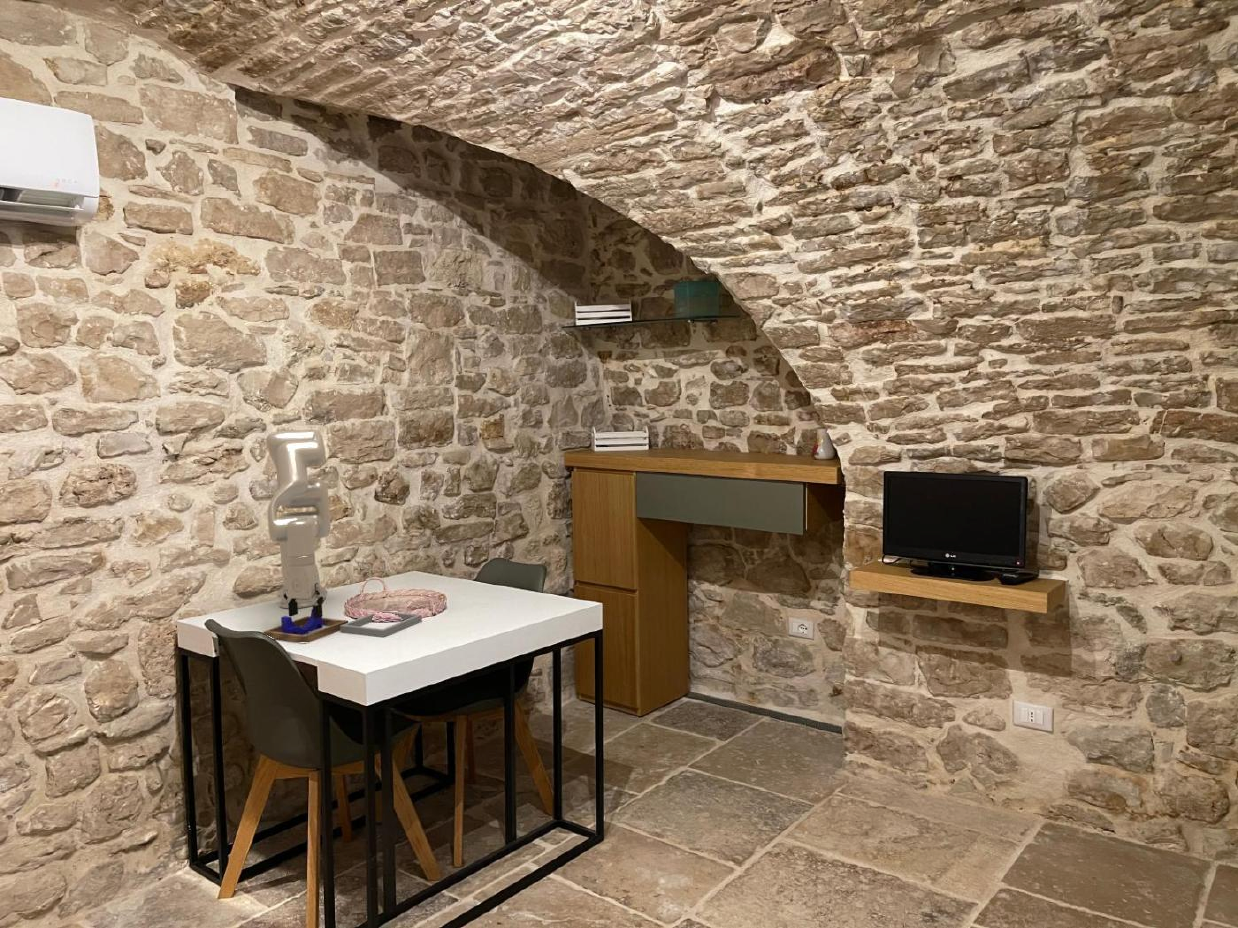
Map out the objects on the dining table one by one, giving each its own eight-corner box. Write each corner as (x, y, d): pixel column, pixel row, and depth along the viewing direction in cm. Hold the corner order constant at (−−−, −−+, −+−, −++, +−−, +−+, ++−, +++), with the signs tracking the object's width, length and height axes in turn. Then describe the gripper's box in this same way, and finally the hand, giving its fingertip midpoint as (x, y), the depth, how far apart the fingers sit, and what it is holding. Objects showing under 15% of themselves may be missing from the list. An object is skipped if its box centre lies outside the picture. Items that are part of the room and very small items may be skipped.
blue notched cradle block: (291, 638, 284) (289, 619, 283) (282, 636, 287) (281, 616, 286) (325, 629, 293) (324, 610, 293) (316, 627, 296) (315, 608, 295)
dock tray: (340, 632, 289) (340, 625, 288) (380, 616, 305) (379, 610, 305) (383, 637, 282) (383, 630, 281) (421, 621, 298) (421, 614, 298)
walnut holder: (263, 638, 285) (263, 631, 284) (307, 622, 301) (307, 616, 301) (305, 643, 278) (305, 636, 277) (348, 626, 294) (348, 620, 294)
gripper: (271, 561, 287) (275, 617, 289) (315, 564, 280) (318, 621, 281) (289, 557, 294) (293, 611, 295) (332, 559, 287) (336, 615, 288)
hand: (305, 616), depth 288 cm, fingers open, 9 cm apart
